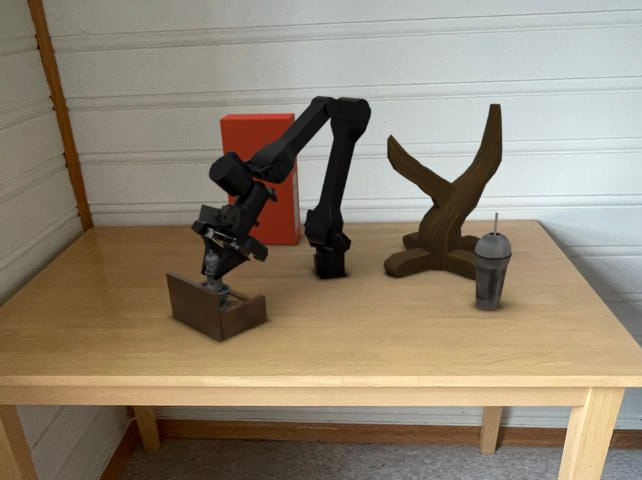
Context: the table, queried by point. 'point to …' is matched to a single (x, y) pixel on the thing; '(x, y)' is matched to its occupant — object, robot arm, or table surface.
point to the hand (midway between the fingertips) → (208, 277)
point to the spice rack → (213, 308)
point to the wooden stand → (446, 207)
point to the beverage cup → (491, 268)
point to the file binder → (276, 217)
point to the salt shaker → (218, 285)
